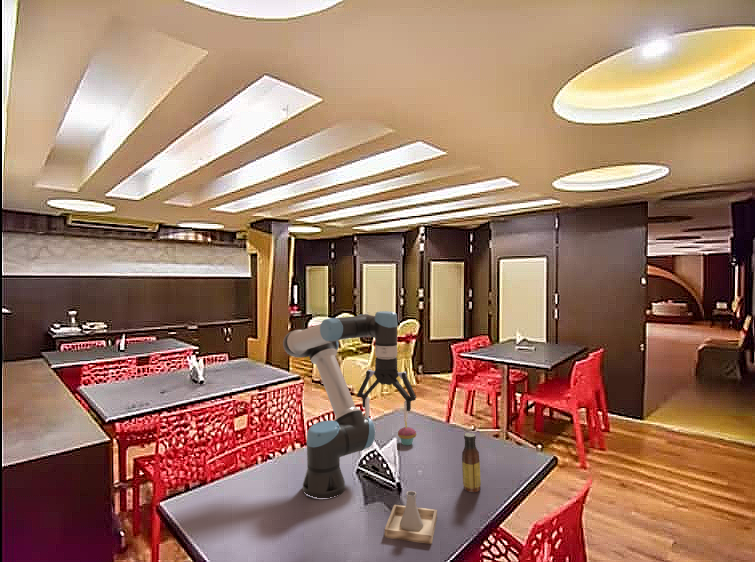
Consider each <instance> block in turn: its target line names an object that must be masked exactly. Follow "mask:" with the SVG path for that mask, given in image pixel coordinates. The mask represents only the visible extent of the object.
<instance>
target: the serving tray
mask: <svg viewBox="0 0 755 562" xmlns="http://www.w3.org/2000/svg"><path fill="white" fill-rule="evenodd" d="M405 507H406V505H401V504H394V505H393V506H392V509H391V511H390V515H389V517H388V519H387V522H386V523H385V526H384V527H385V528H384V529H383V530H384V538H386V539H391V540H398V541H399V540H400V541H405V542H412V543H420V544H428V545H433V540H434V537H435V536H434V535H435V531H436V525H437V521H438V509H432V508H425V507H418V506H417V508H418V512H419V515H420V517H421V520H422V523H423V527H422V528H421V529H420V531H407V530H404V529H402V528H401V525H400V522H401V519H402V516H403V513H404V510H405Z"/></svg>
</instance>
